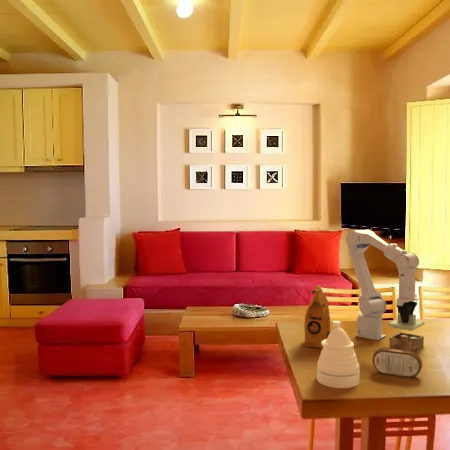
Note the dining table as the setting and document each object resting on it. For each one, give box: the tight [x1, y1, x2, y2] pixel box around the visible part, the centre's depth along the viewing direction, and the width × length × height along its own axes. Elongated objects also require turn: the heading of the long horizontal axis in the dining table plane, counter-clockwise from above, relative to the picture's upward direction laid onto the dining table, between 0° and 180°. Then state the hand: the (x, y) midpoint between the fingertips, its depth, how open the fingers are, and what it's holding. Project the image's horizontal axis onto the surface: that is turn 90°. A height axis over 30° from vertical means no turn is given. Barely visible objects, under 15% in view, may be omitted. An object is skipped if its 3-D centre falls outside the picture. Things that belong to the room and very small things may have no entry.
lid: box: [388, 312, 426, 332], centre depth 189 cm, size 10×11×5 cm
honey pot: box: [316, 320, 360, 389], centre depth 156 cm, size 13×13×18 cm
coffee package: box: [303, 285, 331, 349], centre depth 194 cm, size 10×12×22 cm
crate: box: [389, 331, 425, 353], centre depth 189 cm, size 9×10×4 cm
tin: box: [371, 346, 423, 379], centre depth 160 cm, size 15×3×8 cm, turn 64°
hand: (406, 321), depth 189 cm, fingers closed on lid, 2 cm apart
